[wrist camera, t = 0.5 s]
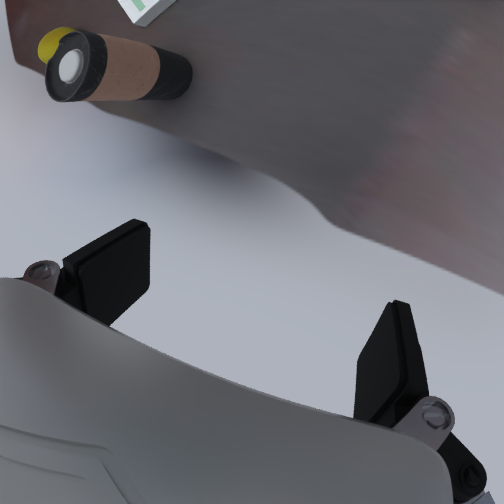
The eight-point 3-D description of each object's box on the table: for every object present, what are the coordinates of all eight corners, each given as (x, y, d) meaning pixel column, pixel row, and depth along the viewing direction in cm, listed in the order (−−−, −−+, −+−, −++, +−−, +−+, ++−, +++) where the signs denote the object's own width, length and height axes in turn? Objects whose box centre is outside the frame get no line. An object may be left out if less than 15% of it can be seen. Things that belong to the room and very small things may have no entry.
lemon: (97, 32, 36) (64, 27, 29) (82, 70, 40) (49, 70, 33) (67, 26, 36) (37, 23, 29) (54, 60, 40) (24, 61, 33)
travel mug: (194, 98, 37) (89, 95, 20) (150, 103, 39) (43, 109, 22) (195, 49, 34) (93, 18, 17) (150, 57, 36) (46, 43, 19)
